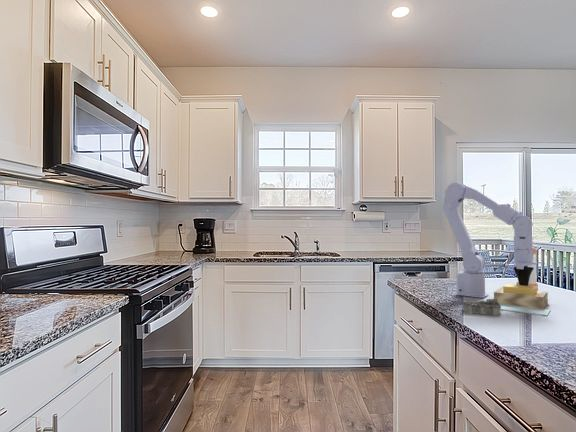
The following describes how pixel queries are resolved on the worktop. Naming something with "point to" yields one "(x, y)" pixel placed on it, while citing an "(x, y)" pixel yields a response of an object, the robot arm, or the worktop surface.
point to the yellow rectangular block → (520, 289)
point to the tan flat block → (522, 299)
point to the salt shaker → (533, 275)
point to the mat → (525, 309)
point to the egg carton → (483, 307)
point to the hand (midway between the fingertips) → (523, 287)
